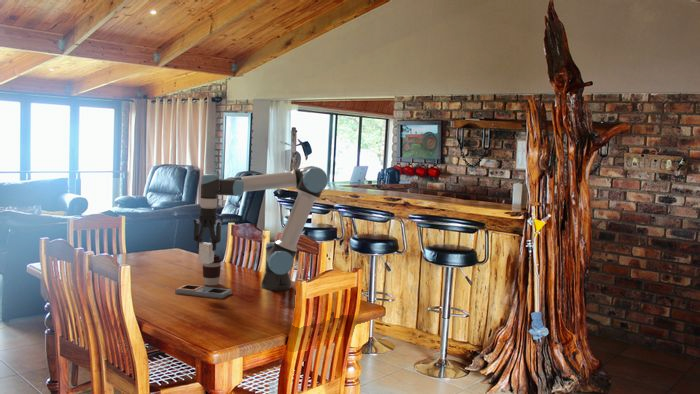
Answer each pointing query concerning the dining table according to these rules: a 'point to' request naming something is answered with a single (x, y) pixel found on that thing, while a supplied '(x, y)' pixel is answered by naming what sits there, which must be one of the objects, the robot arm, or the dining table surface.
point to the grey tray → (203, 291)
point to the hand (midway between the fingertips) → (206, 256)
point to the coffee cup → (212, 271)
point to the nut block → (205, 253)
